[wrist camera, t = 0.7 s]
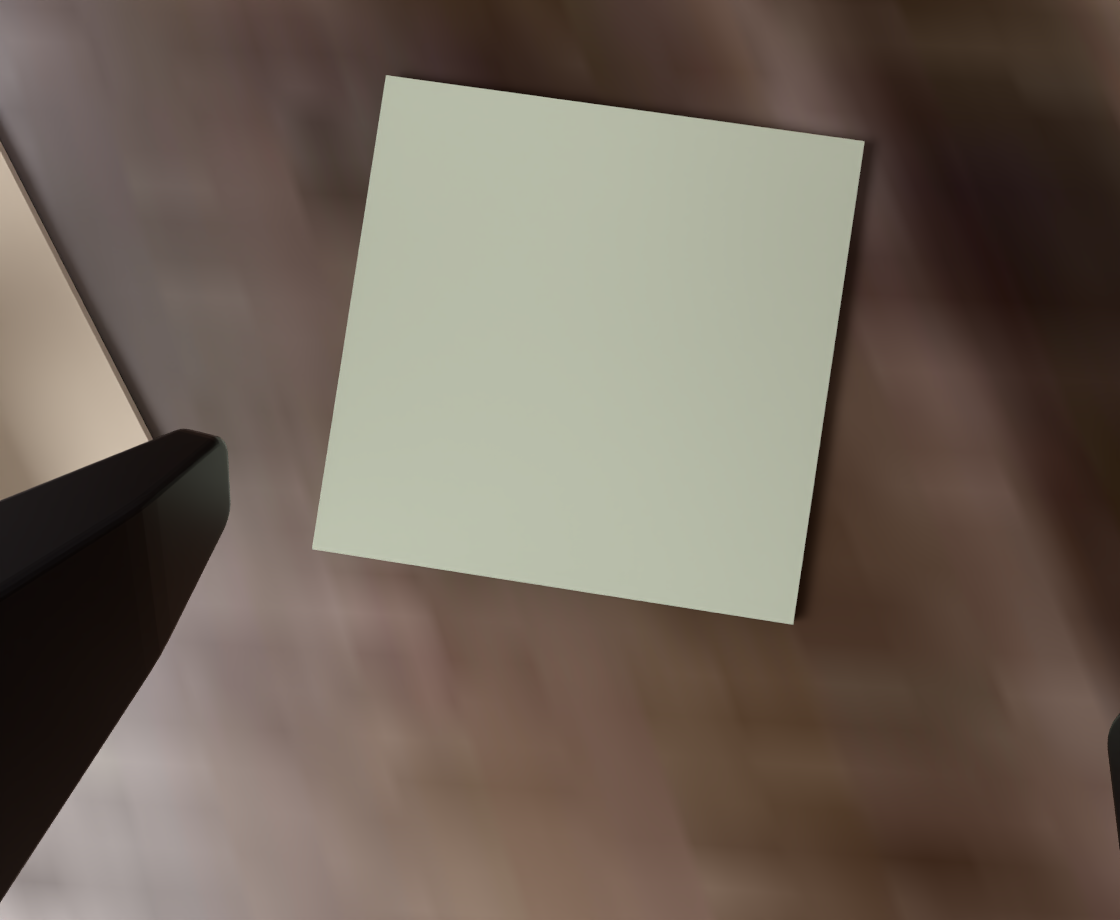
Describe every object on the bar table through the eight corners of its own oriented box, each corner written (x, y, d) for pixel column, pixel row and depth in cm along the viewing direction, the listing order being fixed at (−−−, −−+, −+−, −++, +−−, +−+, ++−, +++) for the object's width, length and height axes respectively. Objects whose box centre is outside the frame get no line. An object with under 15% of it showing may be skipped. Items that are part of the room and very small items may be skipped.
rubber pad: (789, 622, 23) (793, 624, 23) (316, 547, 23) (311, 548, 23) (859, 147, 23) (864, 141, 23) (389, 82, 24) (386, 75, 23)
